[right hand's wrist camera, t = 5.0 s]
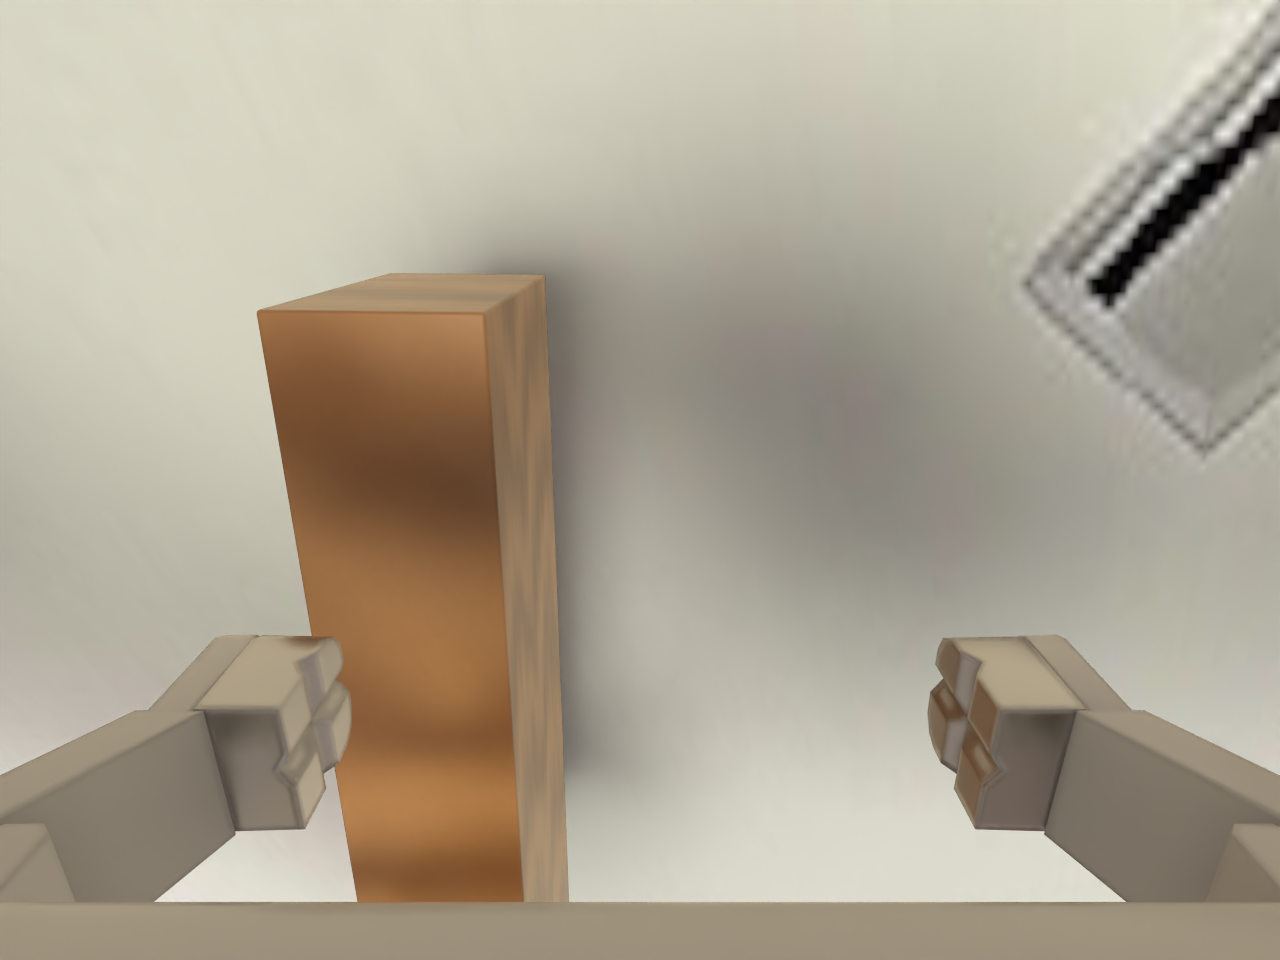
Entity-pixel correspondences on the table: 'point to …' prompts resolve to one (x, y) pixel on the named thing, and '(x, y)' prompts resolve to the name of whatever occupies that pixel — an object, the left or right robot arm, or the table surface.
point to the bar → (432, 573)
